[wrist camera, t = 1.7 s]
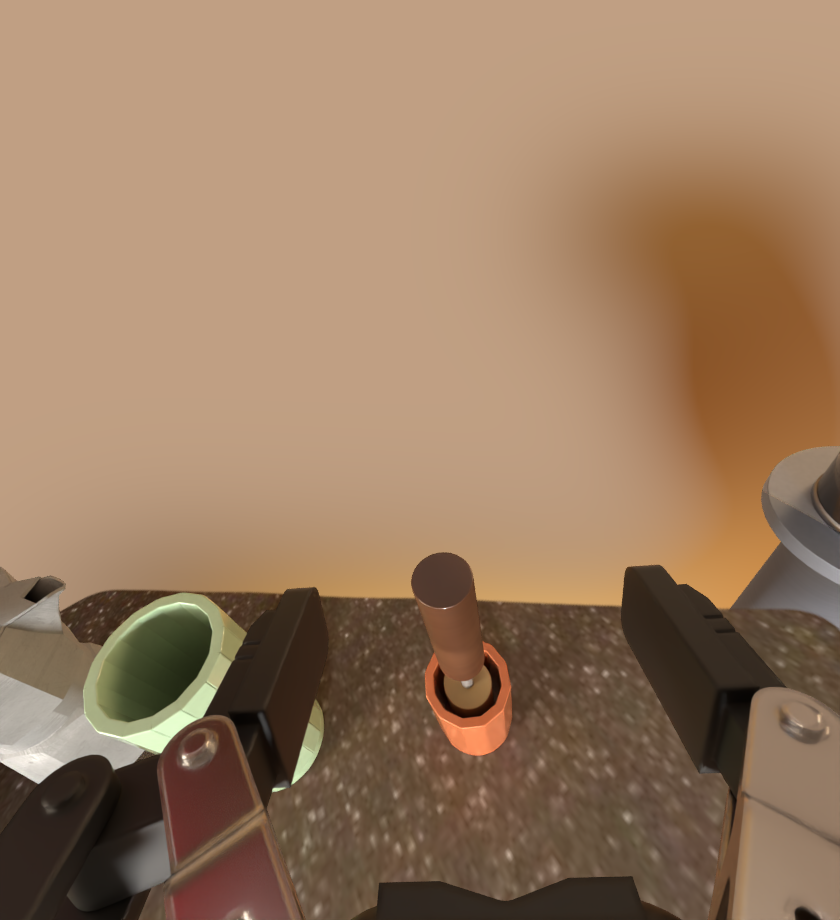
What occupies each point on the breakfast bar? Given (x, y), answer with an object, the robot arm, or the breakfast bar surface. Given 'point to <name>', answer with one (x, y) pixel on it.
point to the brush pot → (473, 731)
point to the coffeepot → (45, 684)
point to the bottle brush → (454, 631)
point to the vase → (170, 675)
